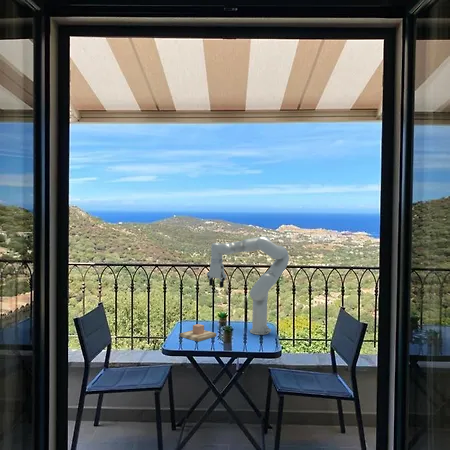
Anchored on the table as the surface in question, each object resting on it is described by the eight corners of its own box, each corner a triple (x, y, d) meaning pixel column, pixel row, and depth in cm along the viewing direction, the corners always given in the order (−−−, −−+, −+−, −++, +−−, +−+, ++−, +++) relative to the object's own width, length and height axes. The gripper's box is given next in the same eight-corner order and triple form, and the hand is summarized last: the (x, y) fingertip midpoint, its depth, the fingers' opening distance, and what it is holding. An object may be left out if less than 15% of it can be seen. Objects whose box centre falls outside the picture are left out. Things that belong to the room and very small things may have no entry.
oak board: (216, 336, 248) (216, 333, 248) (198, 341, 236) (198, 338, 236) (198, 331, 259) (198, 328, 259) (180, 336, 246) (180, 333, 246)
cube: (204, 333, 248) (204, 325, 248) (198, 334, 244) (198, 326, 244) (198, 331, 251) (198, 323, 251) (192, 333, 247) (192, 325, 247)
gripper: (229, 261, 266) (229, 287, 266) (211, 260, 277) (210, 284, 277) (222, 262, 260) (222, 288, 260) (203, 260, 272) (203, 285, 271)
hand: (216, 286), depth 269 cm, fingers open, 9 cm apart
